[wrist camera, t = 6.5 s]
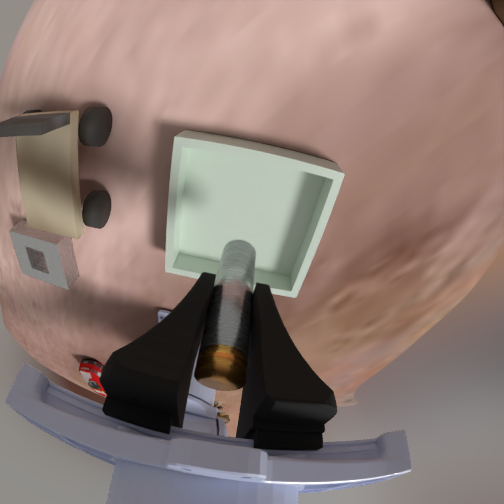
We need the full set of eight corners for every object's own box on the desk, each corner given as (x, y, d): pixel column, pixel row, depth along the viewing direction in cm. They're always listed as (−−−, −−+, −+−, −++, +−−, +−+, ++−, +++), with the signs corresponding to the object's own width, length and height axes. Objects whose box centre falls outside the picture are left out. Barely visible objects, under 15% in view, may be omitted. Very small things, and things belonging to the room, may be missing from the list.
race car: (140, 395, 44) (135, 413, 41) (119, 393, 45) (114, 409, 42) (99, 356, 37) (91, 376, 34) (79, 355, 38) (71, 373, 35)
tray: (294, 278, 25) (295, 297, 23) (173, 254, 24) (165, 271, 22) (336, 163, 18) (345, 173, 16) (185, 129, 18) (174, 136, 16)
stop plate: (79, 275, 26) (69, 290, 24) (33, 260, 26) (22, 272, 24) (70, 230, 23) (57, 244, 21) (22, 219, 22) (9, 230, 20)
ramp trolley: (111, 217, 22) (70, 265, 16) (44, 204, 21) (0, 242, 16) (113, 104, 16) (54, 121, 11) (38, 107, 16) (-19, 128, 10)
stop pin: (249, 271, 17) (237, 394, 10) (218, 261, 17) (189, 382, 10) (261, 246, 16) (253, 374, 9) (228, 235, 16) (199, 360, 9)
